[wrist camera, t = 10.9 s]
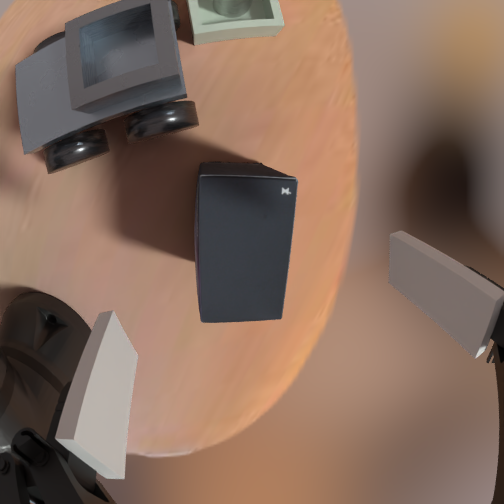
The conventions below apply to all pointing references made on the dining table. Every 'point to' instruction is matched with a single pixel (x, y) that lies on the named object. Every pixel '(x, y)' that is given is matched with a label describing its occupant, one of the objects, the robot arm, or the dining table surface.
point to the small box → (242, 240)
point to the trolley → (103, 82)
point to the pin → (232, 7)
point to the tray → (234, 21)
